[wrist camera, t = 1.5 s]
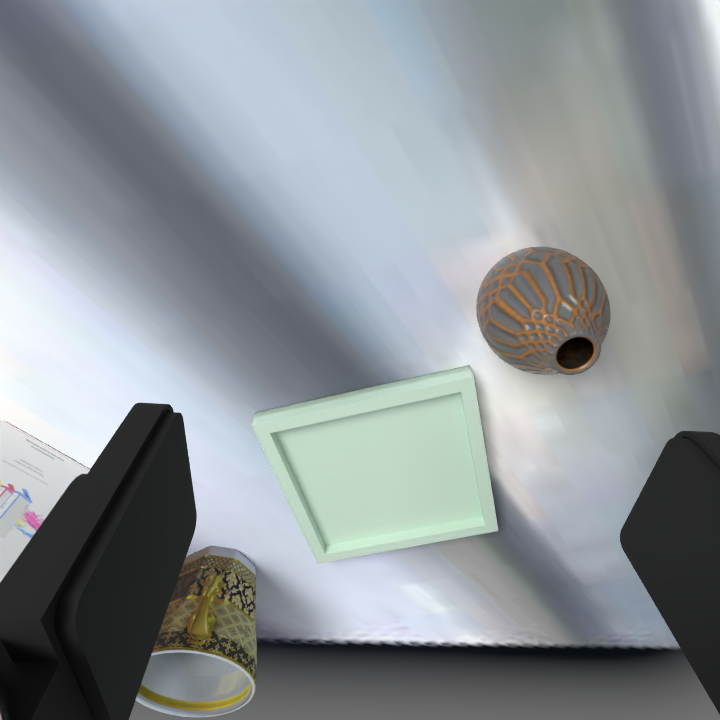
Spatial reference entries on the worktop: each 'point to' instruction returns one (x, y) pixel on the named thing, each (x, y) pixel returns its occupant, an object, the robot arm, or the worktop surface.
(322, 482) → the tray
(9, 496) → the ink box
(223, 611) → the ceramic cup
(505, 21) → the worktop surface
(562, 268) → the vase
